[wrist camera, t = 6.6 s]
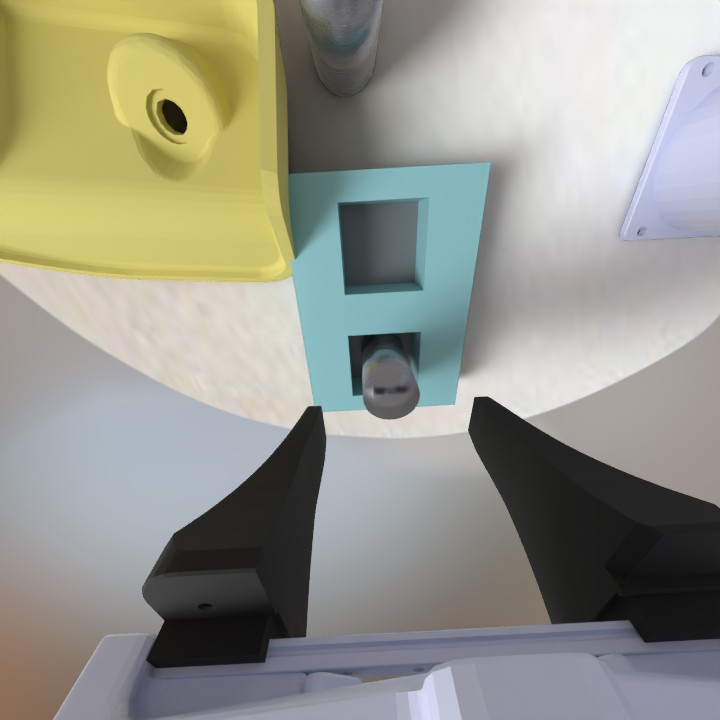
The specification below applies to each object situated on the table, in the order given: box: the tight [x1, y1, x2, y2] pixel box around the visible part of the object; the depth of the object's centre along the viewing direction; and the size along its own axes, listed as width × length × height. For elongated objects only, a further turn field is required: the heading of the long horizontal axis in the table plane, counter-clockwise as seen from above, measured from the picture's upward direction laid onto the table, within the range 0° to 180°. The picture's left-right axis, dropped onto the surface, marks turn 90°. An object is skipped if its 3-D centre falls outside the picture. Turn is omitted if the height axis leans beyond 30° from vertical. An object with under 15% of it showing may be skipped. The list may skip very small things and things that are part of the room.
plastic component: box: [0, 0, 295, 283], centre depth 12 cm, size 20×7×10 cm
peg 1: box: [300, 0, 384, 97], centre depth 10 cm, size 3×3×6 cm
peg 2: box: [361, 333, 420, 419], centre depth 16 cm, size 3×3×6 cm
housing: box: [288, 162, 491, 412], centre depth 17 cm, size 10×14×3 cm
